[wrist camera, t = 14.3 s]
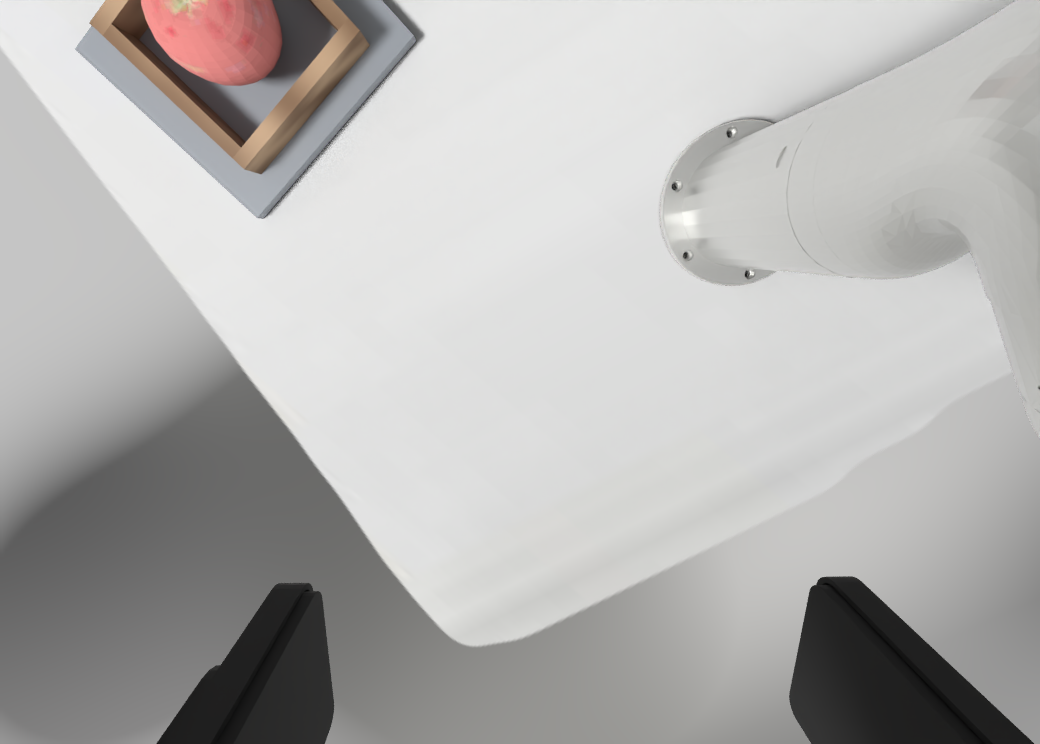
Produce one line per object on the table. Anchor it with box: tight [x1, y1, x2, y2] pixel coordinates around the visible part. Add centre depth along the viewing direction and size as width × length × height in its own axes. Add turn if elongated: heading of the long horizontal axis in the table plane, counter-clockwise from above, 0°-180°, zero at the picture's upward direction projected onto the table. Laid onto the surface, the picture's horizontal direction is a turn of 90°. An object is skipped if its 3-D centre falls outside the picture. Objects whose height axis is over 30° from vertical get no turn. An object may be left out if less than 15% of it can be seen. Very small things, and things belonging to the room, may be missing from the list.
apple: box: [141, 0, 282, 86], centre depth 30 cm, size 7×7×8 cm
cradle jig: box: [75, 0, 416, 219], centre depth 33 cm, size 18×16×4 cm
